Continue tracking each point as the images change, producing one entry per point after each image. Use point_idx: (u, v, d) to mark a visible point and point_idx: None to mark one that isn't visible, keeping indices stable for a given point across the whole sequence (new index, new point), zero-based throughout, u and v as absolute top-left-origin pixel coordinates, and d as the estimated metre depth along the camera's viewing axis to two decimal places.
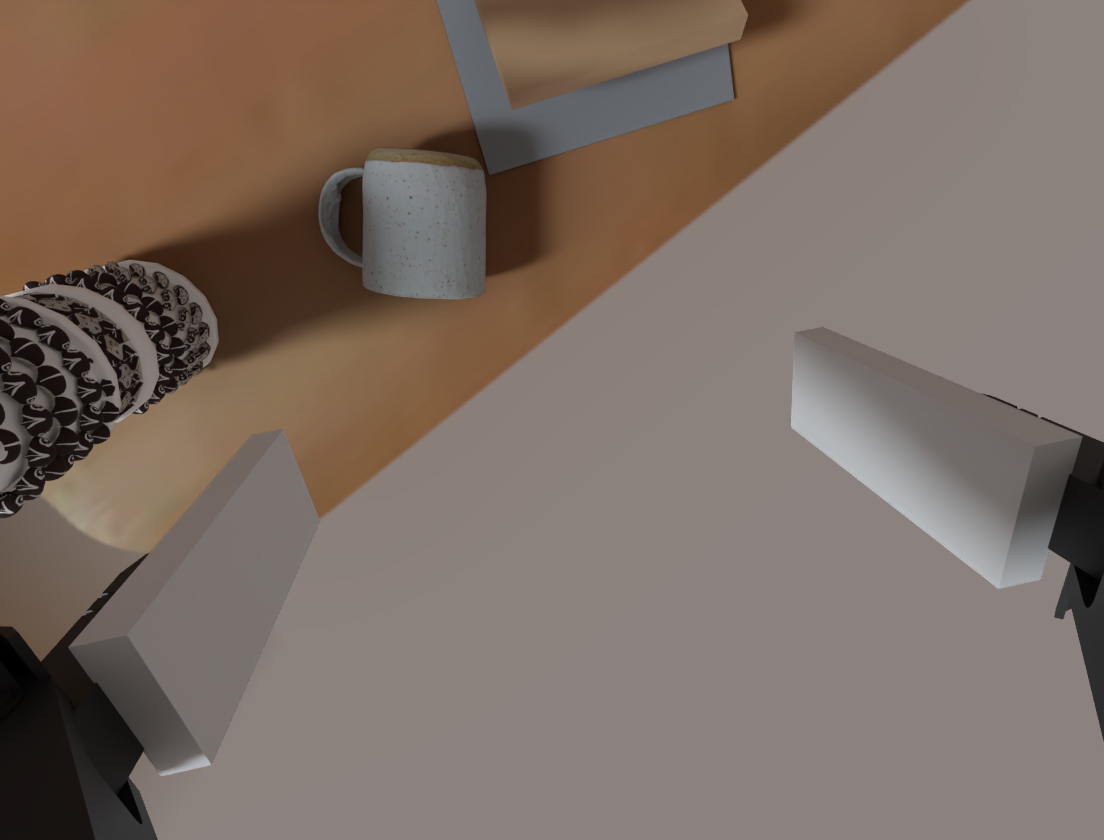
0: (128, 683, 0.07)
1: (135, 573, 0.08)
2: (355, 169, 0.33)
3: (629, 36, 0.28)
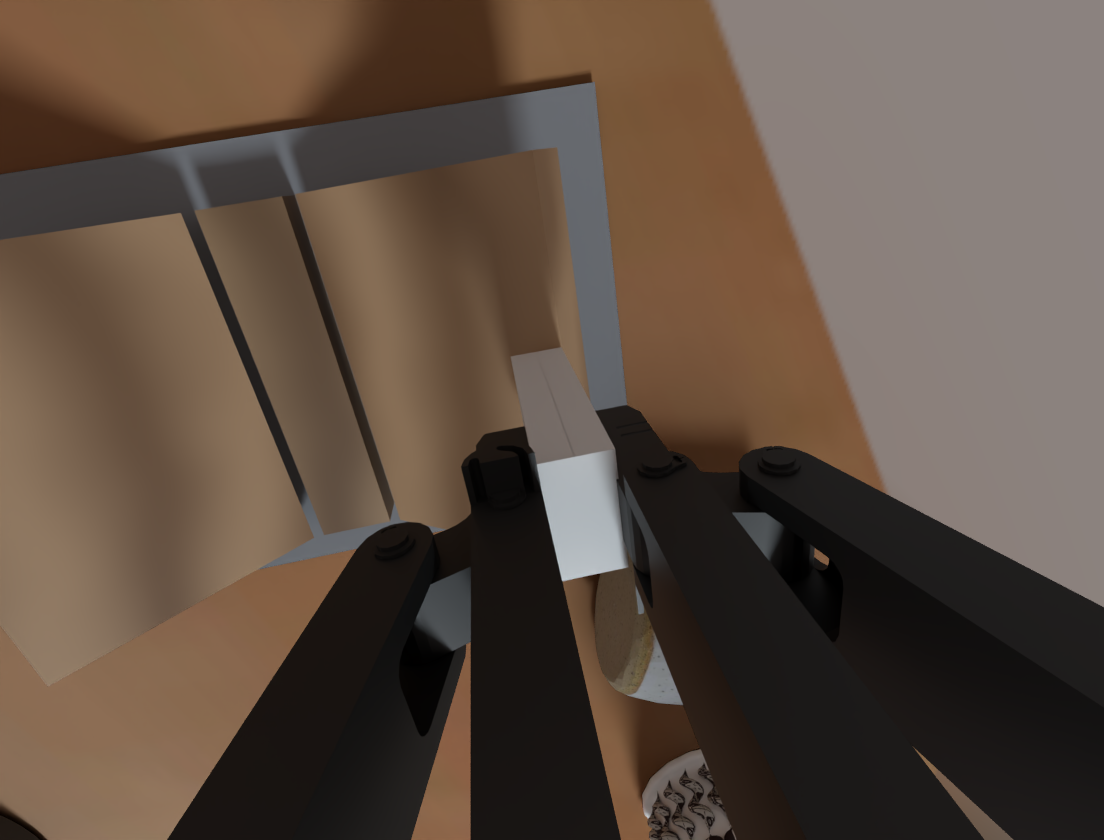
0: (561, 498, 0.10)
1: (529, 429, 0.11)
2: None
3: None
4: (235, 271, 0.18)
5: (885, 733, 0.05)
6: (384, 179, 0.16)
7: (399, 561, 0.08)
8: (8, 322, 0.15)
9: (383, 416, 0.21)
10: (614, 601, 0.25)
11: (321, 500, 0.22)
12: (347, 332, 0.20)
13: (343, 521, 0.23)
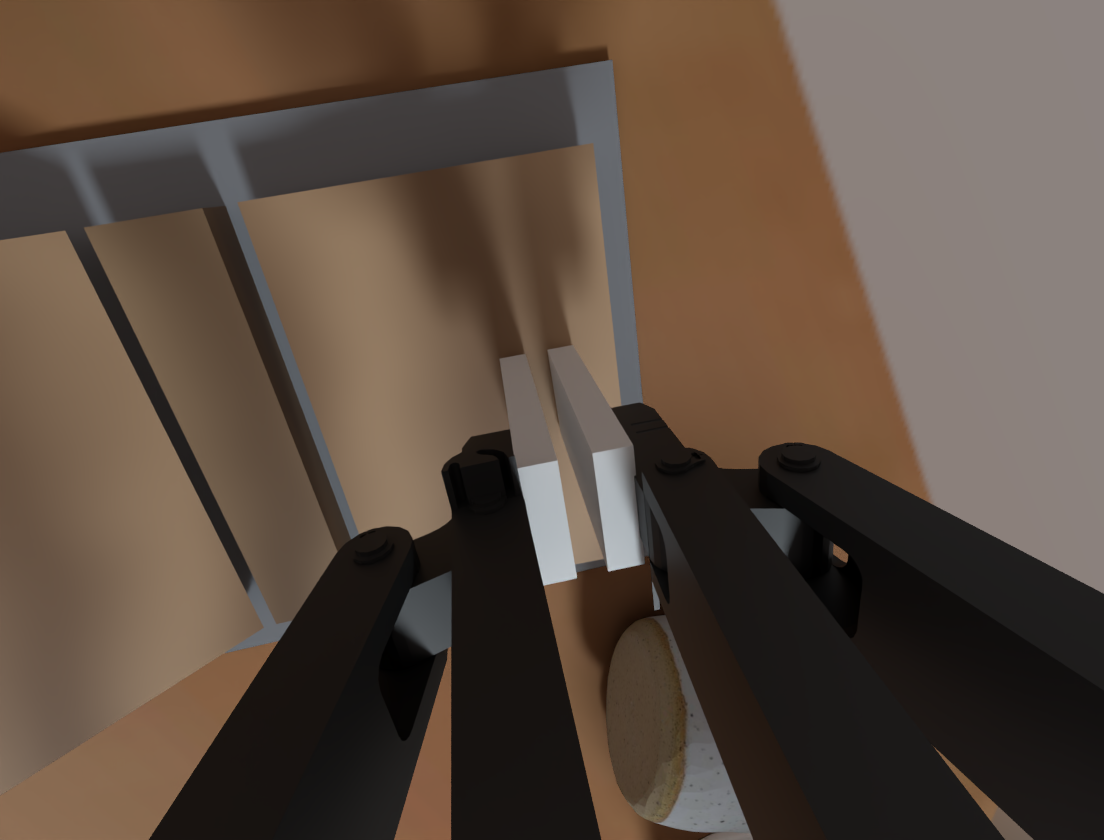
0: (544, 502, 0.10)
1: (514, 432, 0.11)
2: None
3: None
4: (145, 305, 0.14)
5: (904, 731, 0.05)
6: (395, 178, 0.14)
7: (378, 565, 0.08)
8: None
9: (367, 473, 0.17)
10: (631, 699, 0.21)
11: (271, 583, 0.18)
12: (316, 376, 0.15)
13: (300, 607, 0.18)
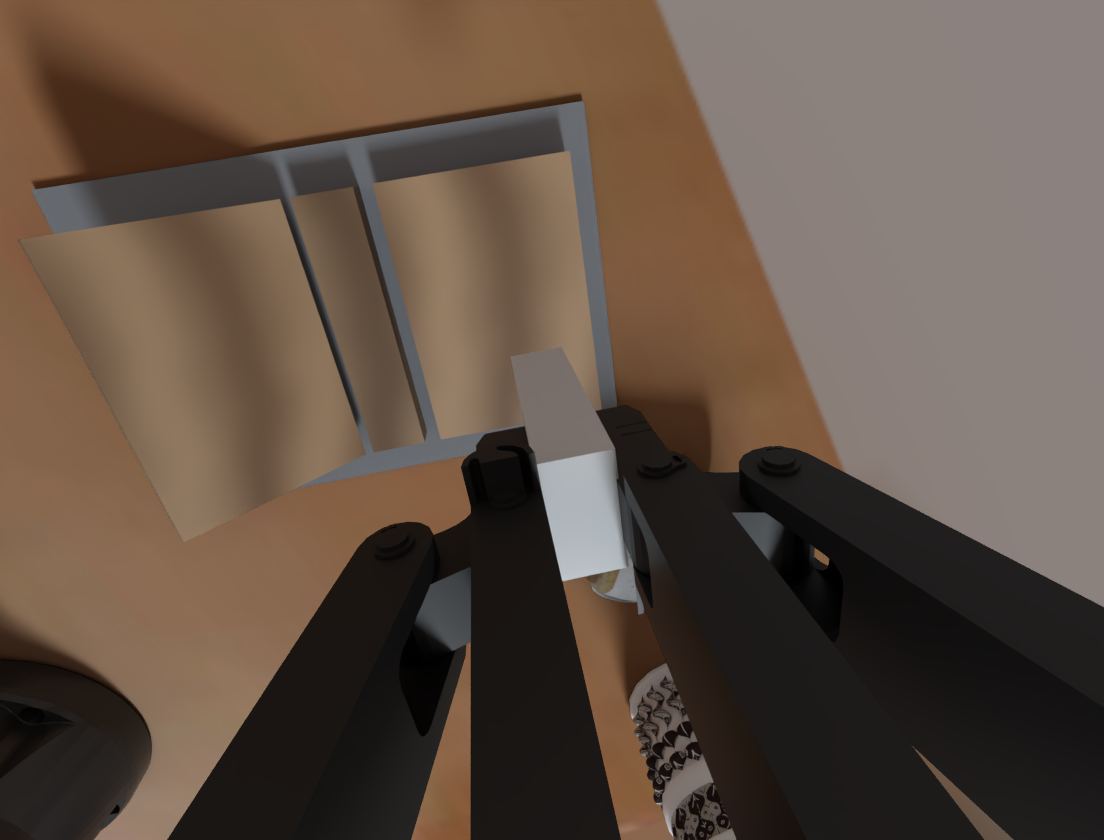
0: (561, 498, 0.10)
1: (529, 429, 0.11)
2: None
3: (569, 288, 0.27)
4: (316, 242, 0.25)
5: (885, 733, 0.05)
6: (460, 170, 0.24)
7: (399, 561, 0.08)
8: (169, 274, 0.22)
9: (435, 350, 0.28)
10: None
11: (372, 423, 0.29)
12: (408, 287, 0.26)
13: (389, 441, 0.29)
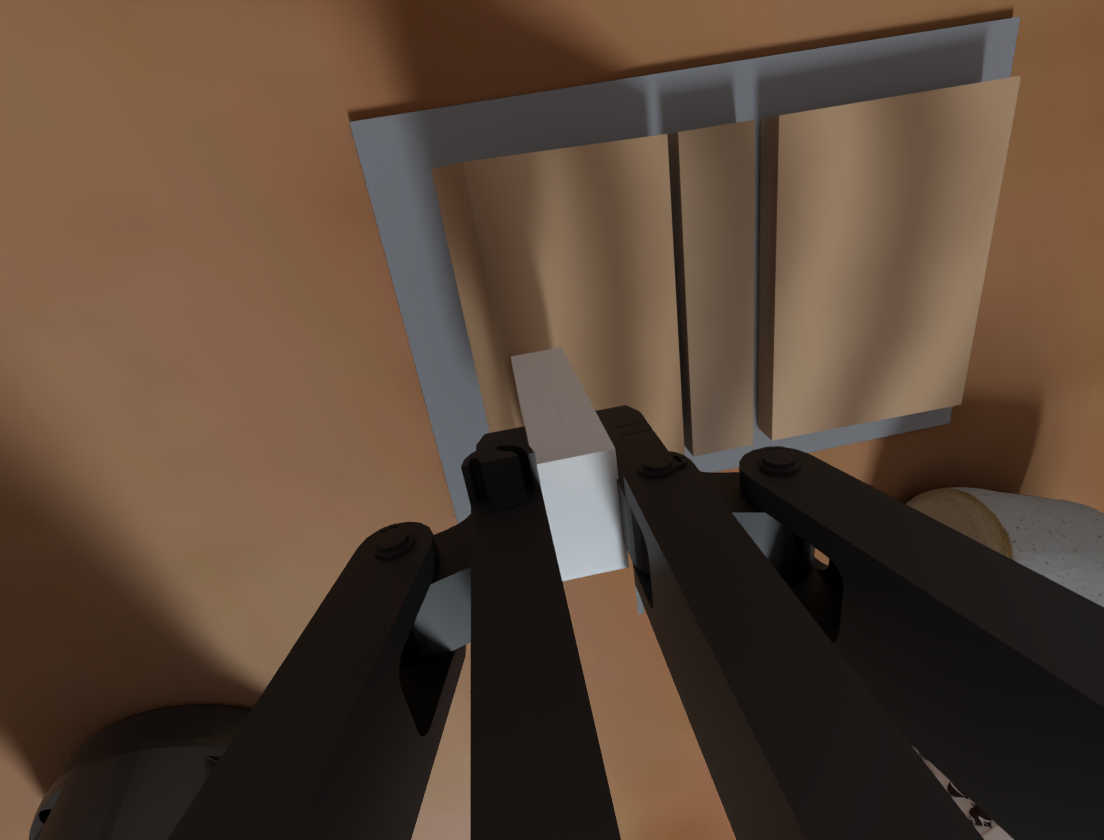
0: (561, 498, 0.10)
1: (529, 429, 0.11)
2: None
3: (968, 254, 0.22)
4: (695, 192, 0.20)
5: (885, 733, 0.05)
6: (886, 99, 0.19)
7: (399, 561, 0.08)
8: (575, 223, 0.17)
9: (795, 331, 0.23)
10: None
11: (701, 421, 0.24)
12: (786, 250, 0.21)
13: (713, 443, 0.24)
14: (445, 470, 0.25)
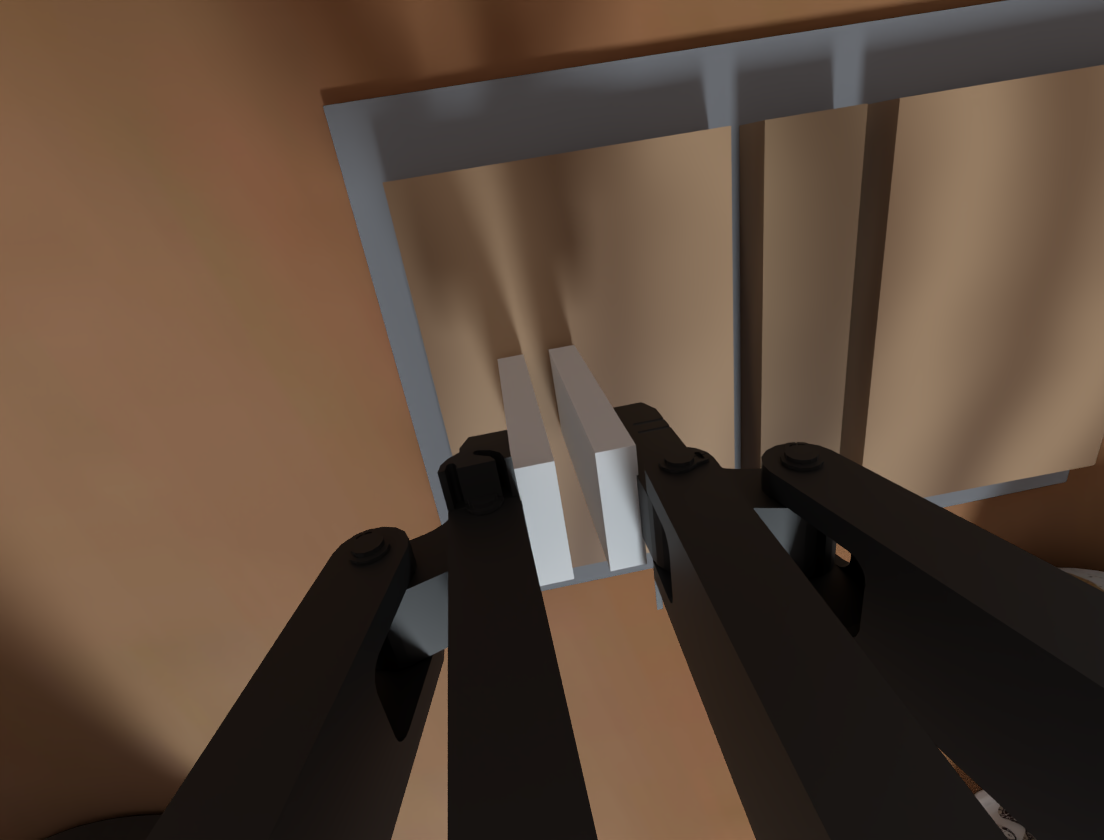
0: (541, 502, 0.10)
1: (511, 433, 0.11)
2: None
3: None
4: (782, 200, 0.15)
5: (907, 731, 0.05)
6: (1043, 76, 0.14)
7: (374, 566, 0.08)
8: (544, 244, 0.15)
9: (897, 377, 0.18)
10: None
11: None
12: (894, 276, 0.16)
13: None
14: None
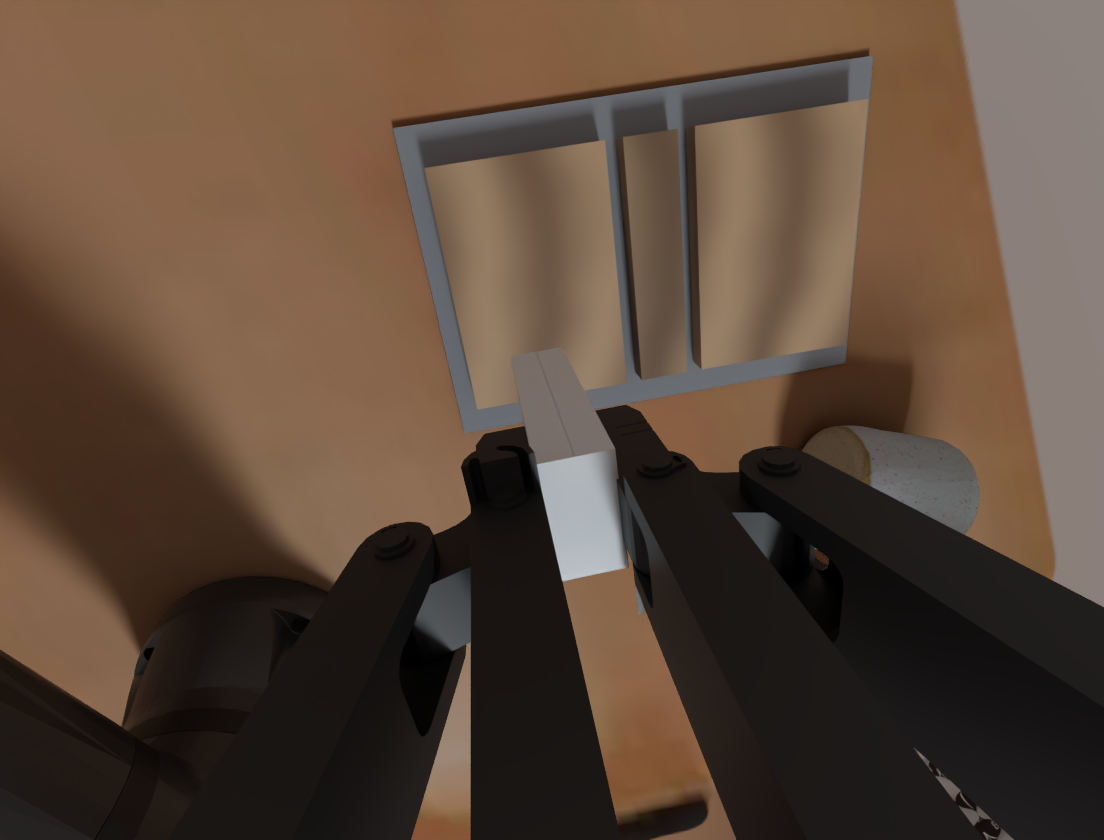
0: (561, 498, 0.10)
1: (529, 430, 0.11)
2: None
3: (841, 228, 0.30)
4: (636, 179, 0.28)
5: (885, 733, 0.05)
6: (771, 115, 0.27)
7: (399, 561, 0.08)
8: (508, 202, 0.28)
9: (714, 284, 0.31)
10: None
11: (646, 352, 0.32)
12: (704, 223, 0.29)
13: (657, 370, 0.32)
14: (455, 389, 0.33)
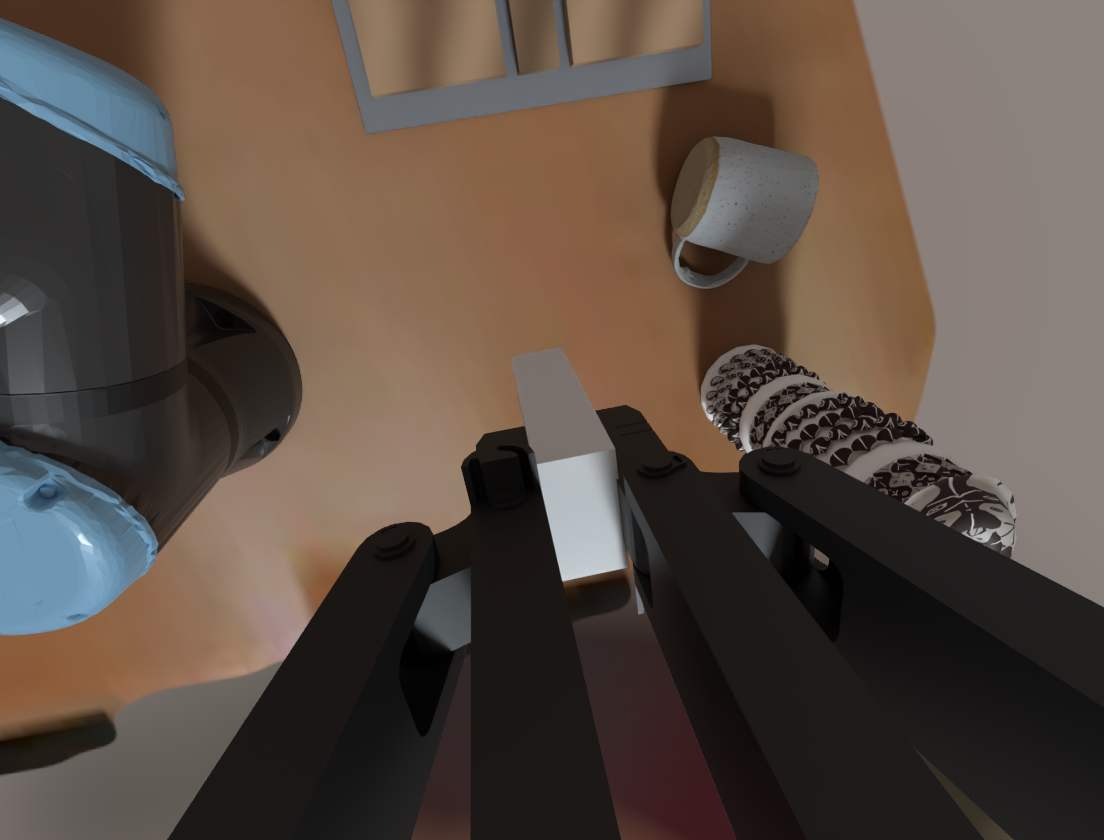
0: (561, 498, 0.10)
1: (530, 429, 0.11)
2: (678, 248, 0.42)
3: None
4: None
5: (885, 733, 0.05)
6: None
7: (399, 561, 0.08)
8: None
9: None
10: (688, 183, 0.39)
11: (521, 41, 0.36)
12: None
13: (532, 61, 0.36)
14: (354, 84, 0.37)
